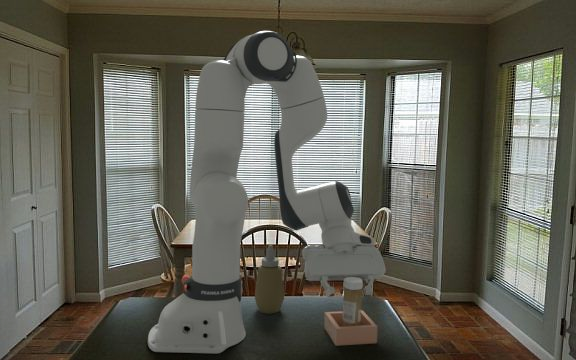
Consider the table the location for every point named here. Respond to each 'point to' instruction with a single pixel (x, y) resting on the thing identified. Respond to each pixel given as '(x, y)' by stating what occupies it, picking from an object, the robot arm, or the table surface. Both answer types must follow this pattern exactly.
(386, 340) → the table surface
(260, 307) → the squeeze bottle
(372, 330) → the terracotta socket
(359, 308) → the sprinkles bottle
